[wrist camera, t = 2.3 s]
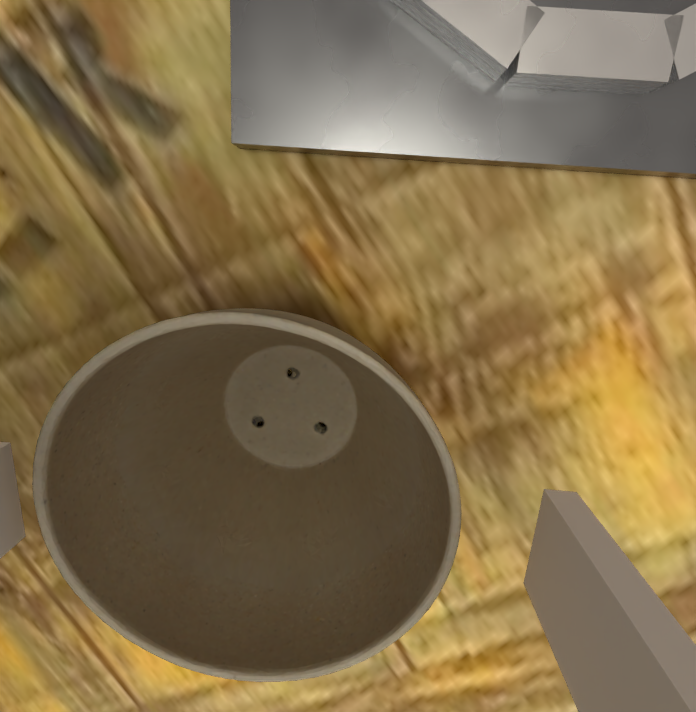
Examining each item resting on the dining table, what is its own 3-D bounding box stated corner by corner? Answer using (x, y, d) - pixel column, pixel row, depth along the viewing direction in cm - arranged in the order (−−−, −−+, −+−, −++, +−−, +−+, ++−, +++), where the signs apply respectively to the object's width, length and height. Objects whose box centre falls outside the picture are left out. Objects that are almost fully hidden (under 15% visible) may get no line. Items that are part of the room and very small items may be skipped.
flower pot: (111, 377, 17) (-61, 479, 10) (316, 216, 15) (276, 208, 8) (273, 555, 19) (222, 740, 12) (472, 433, 17) (544, 572, 10)
